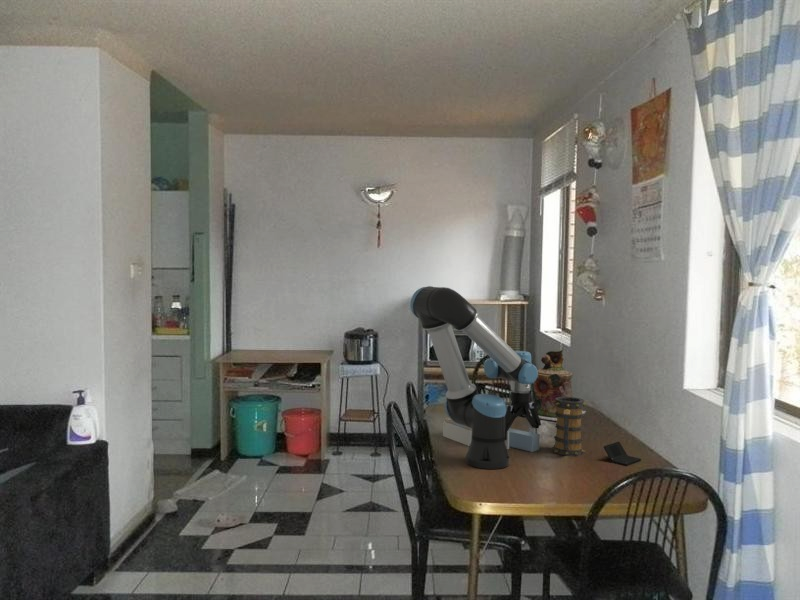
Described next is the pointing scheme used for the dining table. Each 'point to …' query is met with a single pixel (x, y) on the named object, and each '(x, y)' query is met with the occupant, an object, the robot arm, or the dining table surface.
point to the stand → (457, 432)
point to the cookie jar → (551, 385)
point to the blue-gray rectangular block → (523, 440)
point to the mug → (568, 426)
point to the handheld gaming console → (619, 455)
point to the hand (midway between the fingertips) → (519, 446)
